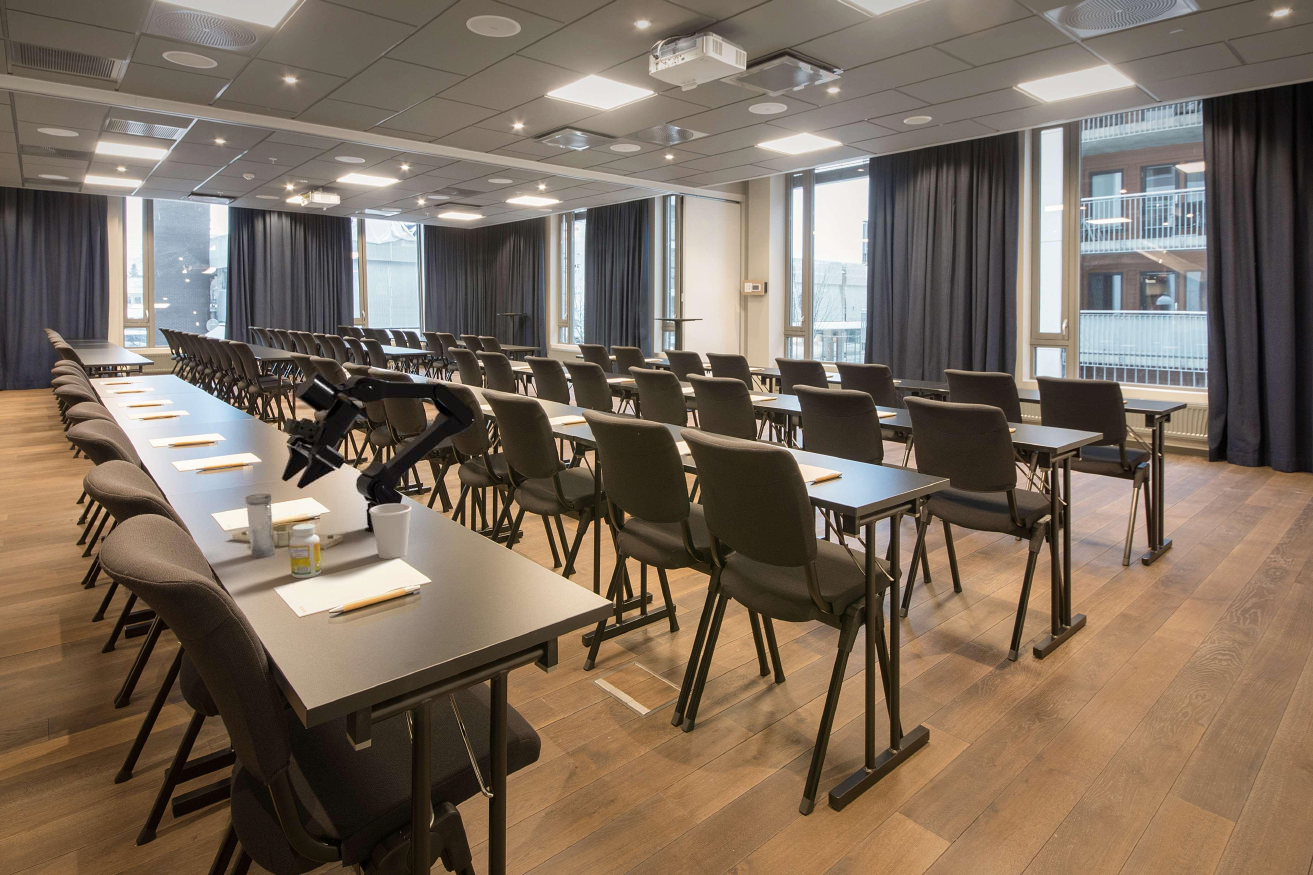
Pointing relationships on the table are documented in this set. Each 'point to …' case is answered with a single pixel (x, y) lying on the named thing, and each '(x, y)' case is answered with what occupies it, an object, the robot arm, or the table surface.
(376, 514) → the dixie cup
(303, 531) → the supplement bottle
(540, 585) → the table surface
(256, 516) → the grey cylinder
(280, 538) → the hinge
